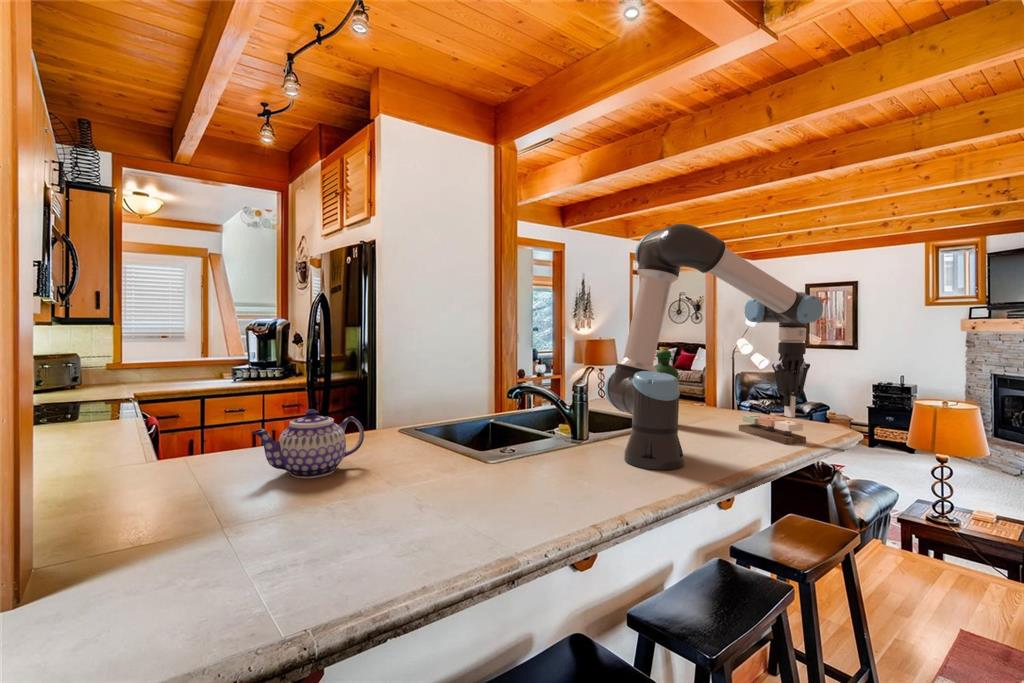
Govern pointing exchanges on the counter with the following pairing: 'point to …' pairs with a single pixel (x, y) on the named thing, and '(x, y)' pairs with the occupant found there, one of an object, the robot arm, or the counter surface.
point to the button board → (772, 434)
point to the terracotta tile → (769, 422)
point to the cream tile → (788, 427)
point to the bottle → (665, 362)
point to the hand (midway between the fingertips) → (789, 416)
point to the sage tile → (751, 419)
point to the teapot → (309, 445)
